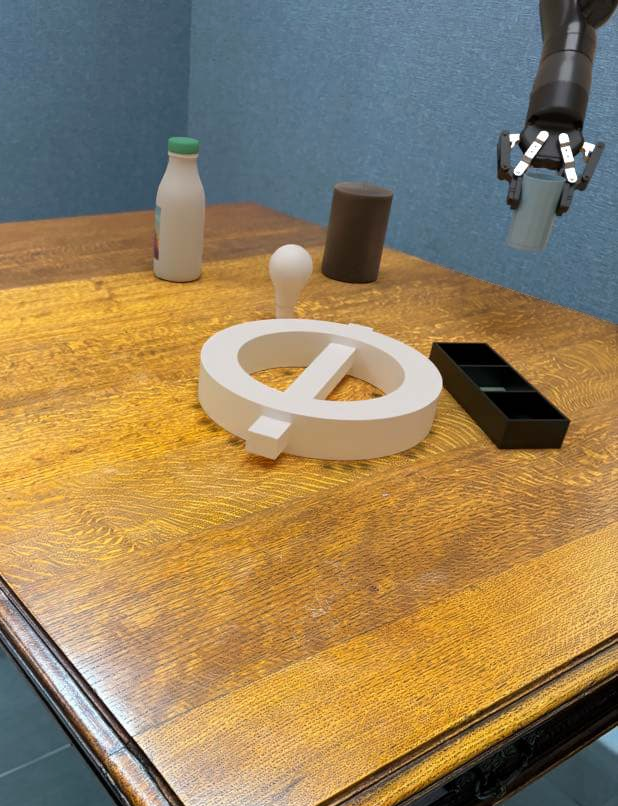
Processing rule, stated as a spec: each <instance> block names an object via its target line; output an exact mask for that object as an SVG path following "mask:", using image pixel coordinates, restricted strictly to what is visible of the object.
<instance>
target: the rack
mask: <svg viewBox="0 0 618 806" xmlns="http://www.w3.org/2000/svg"><path fill="white" fill-rule="evenodd" d="M428 359H429V360H430V361H431V362H432V363H433V364H434V365H435V366H436V368H437V369H438V371H439V372H440V374H441V377H442V383H443V384H442V387H444V388H445V389H446V390H447V392H448V393H449V394H450V395H451V396H452V397H453V399H454V400H455V401H456V402H457V403H458V405H460V406H461V408H462V409H463V410H464V411H465V412H466V413H467V415H468V416H469V417H470V418H471V419H472V420H473V421H474V422H475V424H476V425H477V426H478V427H479V428H480V429H481V431H483V432H484V433H485V435H486V436H487V437H488V438H489V439H490V440H491V442H492V443H493V444H494V445H495V446H496V447H497V449H498V450H501V449H502V450H518V449H519V450H520V449H521V450H522V449H527V450H528V449H529V450H530V449H561V448H562V445H563V443H564V441H565V437H566V435H567V433H568V430H569V428H570V424H571V422H572V420H571V419H570V418H569V417H567V415H566V414H564V412H562V411H561V409H559V408H558V407H557V406H555V404H554V403H552V401H550V400H549V399H548V398H547V397H546V396H545V395H544V394H542V392H541V391H540V390H538V389H537V387H535V386H534V385H533V384H532V383H531V382H529V380H528V379H526V378H525V377H524V375H522V374H521V373H520V372H519V370H517V369H516V368H515V367H514V366H513V365H511V364H510V362H509V361H507V360H506V359H505V358H504V357H503V356H502V355H501V354H499V352H497V351H496V350H495V349H494V348H493V347H492V346H491V345H490V344H489V343H487V342H466V341H465V342H462V341H461V342H459V341H458V342H456V341H454V342H453V341H445V342H444V341H432V343H431V348H430V353H429V356H428Z"/></svg>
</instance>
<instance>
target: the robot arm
mask: <svg viewBox="0 0 618 806" xmlns="http://www.w3.org/2000/svg"><path fill="white" fill-rule="evenodd" d="M538 1H539V2H538V16H539V24H540V35H541V42H542V48H541V54H540V58H539V63H538V68H537V72H536V74H535V77H534V80H533V83H532V88H531V91H530V94H529V103H528V107H527V112H526V118H525V122H524V127H523V129H522V130H521V131H520V133H510V131H509V130H508V129H503V130H501V132H500V134H499V137H498V140H497V143H496V171H497V172H496V177H497V180H498V181H506V182H507V183H508V190H507V194H506V201H505V202H506V205H507V206H509V210H511V211H514V210H515V209H516V207H517V204H518V201H519V196H520V191H521V186H522V180H523V174H524V173H526V172H530V170H531V169H547V170H549V171H553V172H554V171H555V175H558V176H561V177H563V178H565V179H566V183H565V186H564V189H563V192H562V195H561V199H560V202H559V205H558V209H557V212H556V215H555V217H560V218H562V216H563V214H566V213H567V212H568V211H569V210H570V207H571V205H572V202H573V198H574V193H575V191H580V192H584V191H585V190H586V189H587V187H588V186H589V183H590V182H591V180H592V178H593V176H594V173H595V171H596V169H597V166H598V164H599V161H600V159H601V157H602V154H603V152H604V150H605V147H606V144H605V142H603V141H597V142H596V143H594V144H593V143H591V142H587V141H585V137H584V134H583V132H584V131H583V130H584V124H585V119H586V115H587V109H588V105H589V99H590V94H591V90H592V89H591V88H592V82H593V81H592V80H593V68H594V63H595V57H596V52H597V47H598V46H597V45H598V34H597V31H598V30H599V29H601V28H603V27H604V26H605V25H606V24H607V23H608V22H609V21H610V19H611V18H613V15H614V13H615V12H616V10H617V8H618V0H538ZM516 145H517V147H518V148H519V149H520V152H522V155H523V156H522V158H521V160H520V161H519V162H518V164H517V165H516V166H515V167H514V166H512V165H511V152H512V151H513V150H514V148H515V146H516ZM580 153H581V154H582V155H583V157H582V160H583V162H584V163H585V167H584V169H583V171H582V174H579V175H577V172H576V168H575V159H574V158H575V157H576V156H577V155H578V154H580Z"/></svg>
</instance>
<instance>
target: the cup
mask: <svg viewBox="0 0 618 806" xmlns="http://www.w3.org/2000/svg"><path fill="white" fill-rule="evenodd" d="M565 183H566V179H565V178H563V177H561V176H558V175H557V174H553V173H547V172H540V171H529V172H526V173H524V174H523V180H522V186H521V191H520V196H519V201H518V204H517V207H516V209H515V210H512V215H511V218H510V222H509V225H508V229H507V233H506V237H505V241H504V243H505V245H506V246H508V247H510V248H512V249H515V250H519V251H524V252H543V251H545V250H546V247H547V245H548V241H549V238H550V235H551V233H552V229H553V224H554V221H555V219H556V212H557V209H558V205H559V202H560V199H561V195H562V192H563V189H564V186H565Z"/></svg>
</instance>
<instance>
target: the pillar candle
mask: <svg viewBox="0 0 618 806" xmlns="http://www.w3.org/2000/svg"><path fill="white" fill-rule="evenodd" d="M393 199H394V191H393V190H391V188H388V187H384V186H380V185H376V184H372V183H371V184H370V183H366V180H365V179H364V180H363V183H362V182H351V181H344V182H339V183H336V184H334V187H333V193H332V199H331V205H330V212H329V218H328V225H327V231H326V237H325V243H324V249H323V253H322V254H323V255H322V261H321V265H320V268H321V269H320V270H321V272H322V274H324V276H326V277H328V278H330V279H333V280H337V281H341V282H347V283H354V284H364V283H371V282H374V281H376V280H377V279H378V278H379V277H378V276H379V271H380V267H381V262H382V258H383V257H382V256H383V252H384V246H385V241H386V235H387V230H388V225H389V219H390V215H391V210H392V204H393Z"/></svg>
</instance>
